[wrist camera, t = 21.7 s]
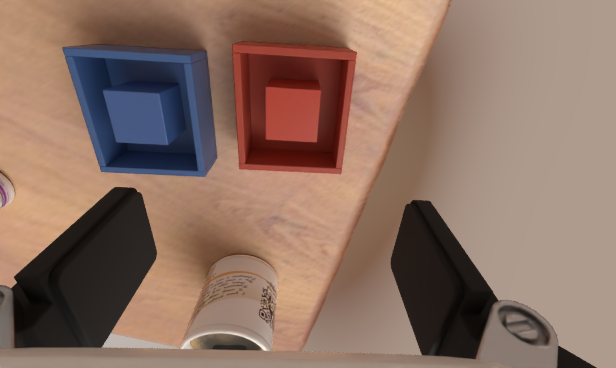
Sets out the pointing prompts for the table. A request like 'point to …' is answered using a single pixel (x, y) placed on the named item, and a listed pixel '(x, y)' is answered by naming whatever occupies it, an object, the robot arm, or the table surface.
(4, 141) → the table surface
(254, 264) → the mug
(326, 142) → the red bin
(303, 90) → the red block
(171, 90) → the blue block
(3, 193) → the pill bottle
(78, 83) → the blue bin
